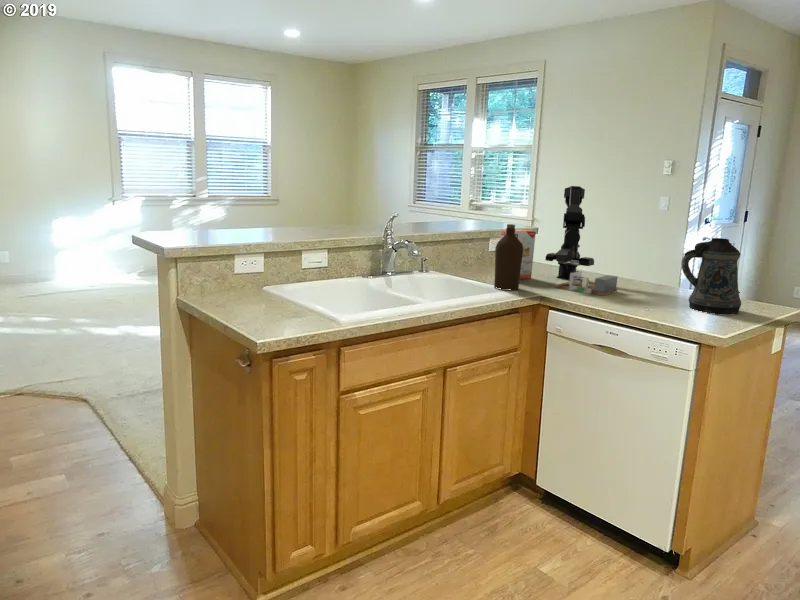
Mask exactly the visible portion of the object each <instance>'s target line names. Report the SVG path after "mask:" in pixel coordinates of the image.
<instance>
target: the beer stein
mask: <svg viewBox="0 0 800 600" xmlns="http://www.w3.org/2000/svg"><path fill="white" fill-rule="evenodd" d="M740 257H741V251H740V250H738V248H737V247H735V246H734V245H733V244H732V243H731V242H730V240H729V239H728V238H721V237H720V238H719V237H713V238H711V240H709V241H704V242H703V241H701V242H698V243H696V244H695V246H694V249H691V250H688V251H686V252H685V253H684V254H683V257H682V260H681V269H682V272H683V274H684V276H685V278H686V279H687V280H688V282H689V283H690V284H691V285H692V286H693V287H694V288H693V290H692V292H691V294H690V295H689V296H688V304H689V305H688V306H689V307H690V309H691V308H692V309H691V310H693V309H694V310H693V311H696V310H698V311H697V312H699V311H702V312H701V313H704V312H707V313H706V314H710V313H715V314H714V315H718V314H735V315H737V314H736V313H739V312H740V311H739V310H741V306H742V300H741V298H740V297H741V296H740V291H739V276H738V275H739V274H738V272H739V270H738V269H739V268H738V263H739V262H738V261H739V259H740ZM694 258H696V259H697V258H699V259H701V263H700V266H699V269H698V272H697V277H695V276H694V274H693V273H692V272H691V268H690V266H689V263H690V261H691V260H692V259H694Z"/></svg>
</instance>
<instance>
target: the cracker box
mask: <svg viewBox="0 0 800 600" xmlns="http://www.w3.org/2000/svg"><path fill="white" fill-rule="evenodd" d="M536 232H537V231H535V230H532V229H515V236H516V237H517V238H518V240H519V241H520V242H521V244H522V246H523V255H522V263H521V270H520V278H519V280H531V279H532V271H533V264H534V254H535V253H534V252H535V243H536V242H535V241H536ZM505 235H506V228H505V229H500V235H499V236H500V237H499V241H500V240H501V239H502V238H503V237H504V236H505Z"/></svg>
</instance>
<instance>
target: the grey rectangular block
mask: <svg viewBox="0 0 800 600" xmlns="http://www.w3.org/2000/svg"><path fill="white" fill-rule="evenodd" d="M594 285H595V286H594V291H596V292H602V293H605V292H608V291H611V290H614V289H617V285H618V276H616V275H610V274H608V275H603V276H599V277H595V278H594Z"/></svg>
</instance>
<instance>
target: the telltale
mask: <svg viewBox="0 0 800 600" xmlns="http://www.w3.org/2000/svg"><path fill="white" fill-rule="evenodd" d="M589 279H590V277H586V278H583V281H581V283H582V287H585V288H588V284H589Z"/></svg>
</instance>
